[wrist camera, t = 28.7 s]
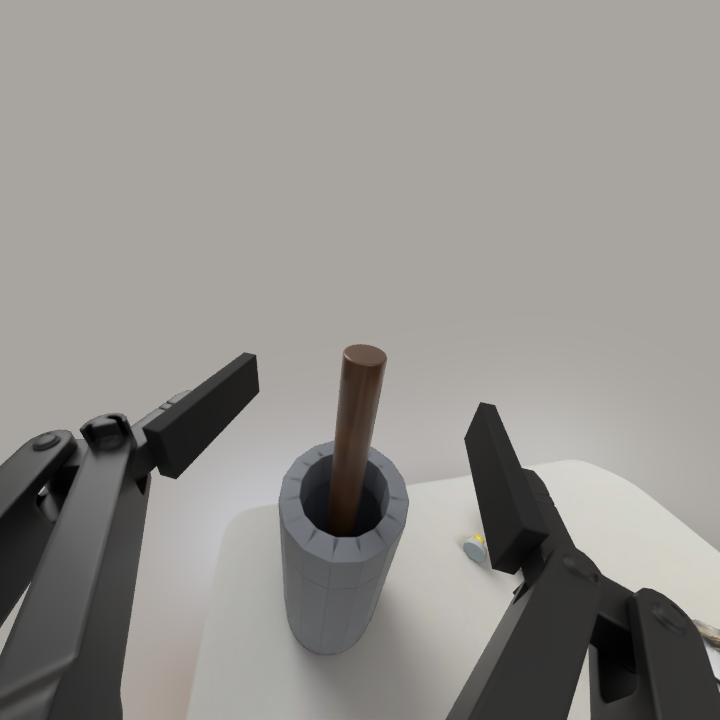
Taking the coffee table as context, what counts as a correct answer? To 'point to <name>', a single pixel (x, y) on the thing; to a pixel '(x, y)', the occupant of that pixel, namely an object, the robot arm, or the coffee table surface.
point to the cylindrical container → (337, 549)
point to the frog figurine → (711, 645)
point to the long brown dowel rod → (353, 434)
